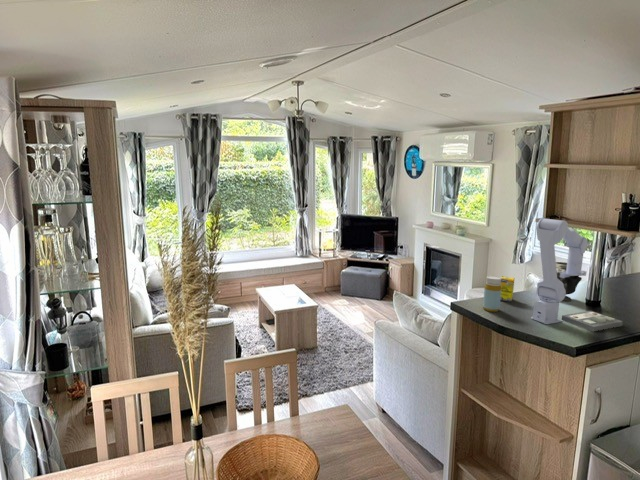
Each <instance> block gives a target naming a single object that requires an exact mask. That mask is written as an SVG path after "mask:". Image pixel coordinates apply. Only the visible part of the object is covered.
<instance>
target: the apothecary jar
mask: <svg viewBox="0 0 640 480" xmlns="http://www.w3.org/2000/svg"><path fill="white" fill-rule="evenodd" d="M566 269H567V261H565V262H564V261H556V270H557V278H558V279H559V280H560V281H561V282H562V283H563V284H564V288H565V290H566V295H565V298H564V299H563V300H562V301H561V302H572V301H573V300H572V298H571V297H570V296H569V295H571V294H573V293H570V292H568V289H567V284H566V281H565V279H564V278H561V277H560V273H563V272H565V271H566ZM576 290H577V288H576V289H575V291H574V293H575V292H576ZM567 295H568V296H567Z"/></svg>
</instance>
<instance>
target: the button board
mask: <svg viewBox="0 0 640 480" xmlns="http://www.w3.org/2000/svg"><path fill="white" fill-rule="evenodd" d="M592 316H601V317H606V316H607V315H604V314H601V313H599V312H596V311H593V310H588V311H587V310H586V311H581V312H575V313H574V312H573V313H568V314H564V315H561V320H562V322H566V323H569V324H571V325H574V326H577V327H580V328H582V329H585V330H587V331H591V332H597V331H598V330H599V331H603V329H604V330H607V329H608V328H609V329H613V327H614V328H617V327H622V326H623V320H620V319H616V318H614V319H615V321H608V320H606V322H604V323H599V322H596V321H593V320H592ZM583 320H591V321H593V322H596V324H593V325H589V324H586V323H584V322H582V321H583ZM609 329H608V330H609Z"/></svg>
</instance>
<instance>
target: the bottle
mask: <svg viewBox="0 0 640 480" xmlns="http://www.w3.org/2000/svg"><path fill="white" fill-rule="evenodd" d="M500 298H501V277H500V276H498V275H495V276H494V275H487V276H486V282H485V285H484V291H483V301H482V308H483V310H484V311H486V312H491V313H496V312H499V311H500V307H501V300H500Z"/></svg>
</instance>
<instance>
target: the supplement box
mask: <svg viewBox="0 0 640 480" xmlns="http://www.w3.org/2000/svg"><path fill="white" fill-rule="evenodd" d="M500 278H501V298H500V302H502V301H503V302H508V303H512V300H513V298H514V297H513V296H514V289H515V288H514V287H515V277H509V276H501V277H500Z"/></svg>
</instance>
